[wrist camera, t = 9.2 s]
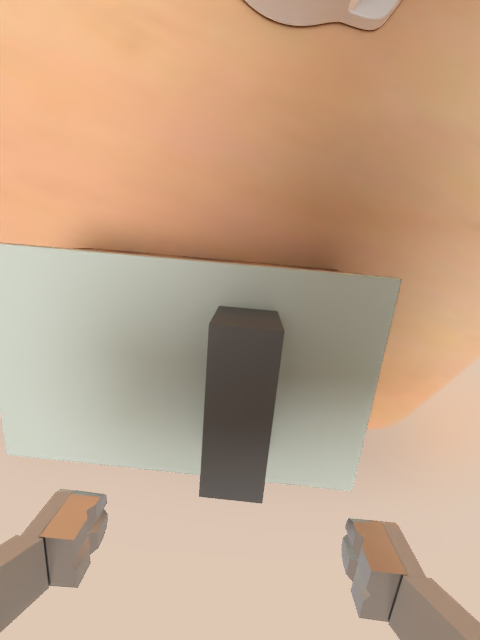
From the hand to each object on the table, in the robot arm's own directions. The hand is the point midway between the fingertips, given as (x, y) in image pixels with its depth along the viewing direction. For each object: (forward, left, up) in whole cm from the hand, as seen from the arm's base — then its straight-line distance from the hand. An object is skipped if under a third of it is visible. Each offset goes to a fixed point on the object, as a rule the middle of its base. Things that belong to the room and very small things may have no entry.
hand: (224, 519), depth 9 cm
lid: (+3, -3, -10) cm, 11 cm away
